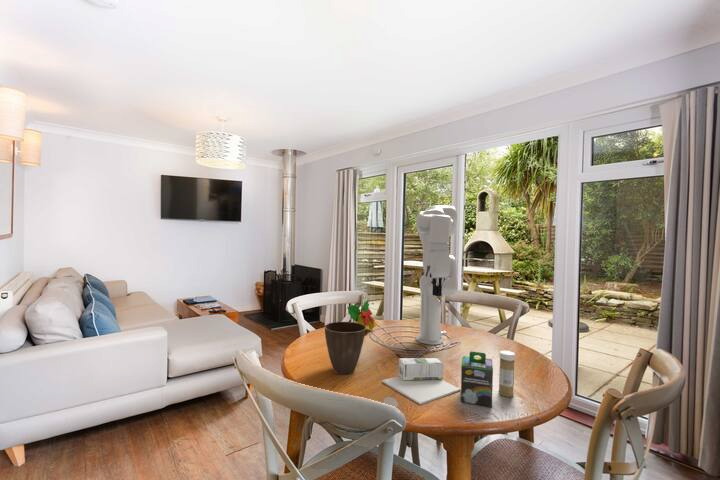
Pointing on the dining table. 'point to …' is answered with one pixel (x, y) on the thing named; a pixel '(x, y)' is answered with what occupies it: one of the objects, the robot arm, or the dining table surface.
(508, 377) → the sprinkles bottle
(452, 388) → the mat
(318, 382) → the dining table surface
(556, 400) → the dining table surface
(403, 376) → the syrup box
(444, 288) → the robot arm
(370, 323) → the ornament
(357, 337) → the plant pot
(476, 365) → the chalk box
